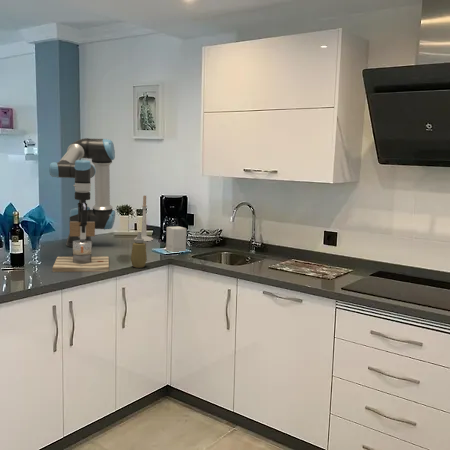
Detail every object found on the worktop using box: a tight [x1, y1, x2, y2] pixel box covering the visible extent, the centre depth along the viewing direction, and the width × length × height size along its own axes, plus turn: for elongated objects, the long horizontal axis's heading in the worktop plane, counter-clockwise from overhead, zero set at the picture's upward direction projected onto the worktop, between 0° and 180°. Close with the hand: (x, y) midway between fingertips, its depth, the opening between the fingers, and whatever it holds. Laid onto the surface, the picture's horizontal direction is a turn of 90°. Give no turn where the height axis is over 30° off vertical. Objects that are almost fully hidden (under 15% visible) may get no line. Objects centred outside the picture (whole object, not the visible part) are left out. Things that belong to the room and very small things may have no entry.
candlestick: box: [133, 195, 154, 242], centre depth 337 cm, size 13×13×30 cm
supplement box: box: [165, 226, 187, 252], centre depth 302 cm, size 9×9×15 cm
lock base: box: [52, 253, 110, 273], centre depth 258 cm, size 26×26×6 cm
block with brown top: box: [69, 220, 96, 255], centre depth 256 cm, size 10×12×16 cm
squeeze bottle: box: [130, 231, 148, 268], centre depth 261 cm, size 8×8×18 cm
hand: (82, 238), depth 257 cm, fingers closed on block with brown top, 4 cm apart
